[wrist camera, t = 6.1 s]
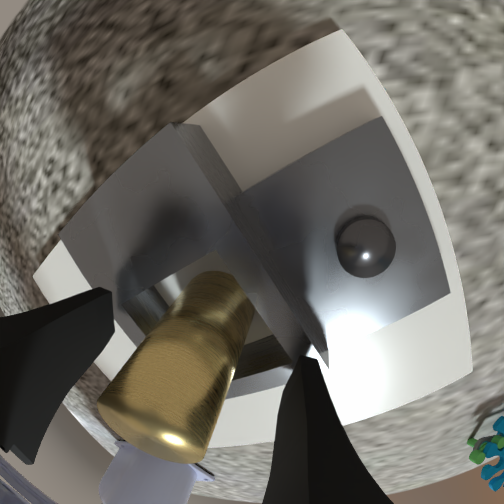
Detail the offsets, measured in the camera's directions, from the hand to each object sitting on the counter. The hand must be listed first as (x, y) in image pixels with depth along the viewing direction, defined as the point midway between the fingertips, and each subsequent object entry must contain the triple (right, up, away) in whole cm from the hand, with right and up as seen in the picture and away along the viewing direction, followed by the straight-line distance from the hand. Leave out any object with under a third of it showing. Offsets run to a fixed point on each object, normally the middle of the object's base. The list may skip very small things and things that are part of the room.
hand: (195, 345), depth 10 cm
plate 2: (+3, +2, +2) cm, 4 cm away
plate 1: (0, +2, +2) cm, 3 cm away
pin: (0, +1, +3) cm, 3 cm away
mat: (+1, -1, +4) cm, 5 cm away
